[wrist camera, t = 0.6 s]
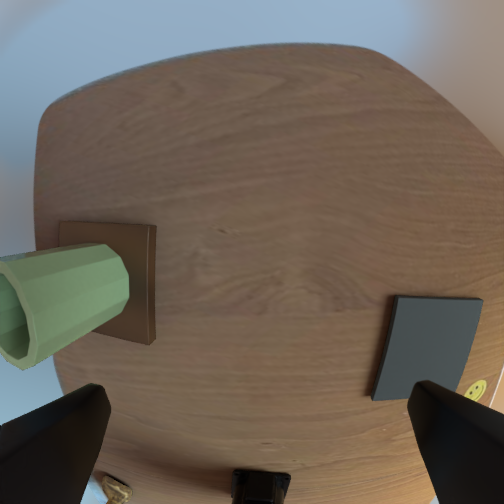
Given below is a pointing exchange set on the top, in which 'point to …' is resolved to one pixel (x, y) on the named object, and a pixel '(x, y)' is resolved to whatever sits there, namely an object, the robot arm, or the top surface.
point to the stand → (138, 268)
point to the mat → (426, 344)
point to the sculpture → (115, 491)
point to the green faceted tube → (57, 298)
